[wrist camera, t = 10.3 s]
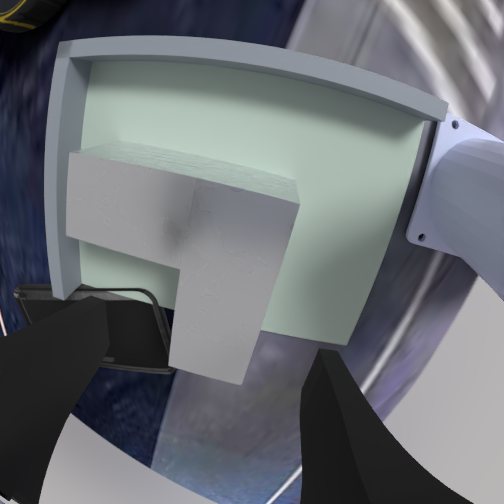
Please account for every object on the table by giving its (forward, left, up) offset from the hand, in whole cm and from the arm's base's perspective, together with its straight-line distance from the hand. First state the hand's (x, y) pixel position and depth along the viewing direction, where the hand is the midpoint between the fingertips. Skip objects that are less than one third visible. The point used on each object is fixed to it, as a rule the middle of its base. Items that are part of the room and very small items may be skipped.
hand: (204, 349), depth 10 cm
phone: (+11, +10, -10) cm, 18 cm away
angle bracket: (+3, 0, -9) cm, 9 cm away
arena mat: (+2, -2, -10) cm, 10 cm away
